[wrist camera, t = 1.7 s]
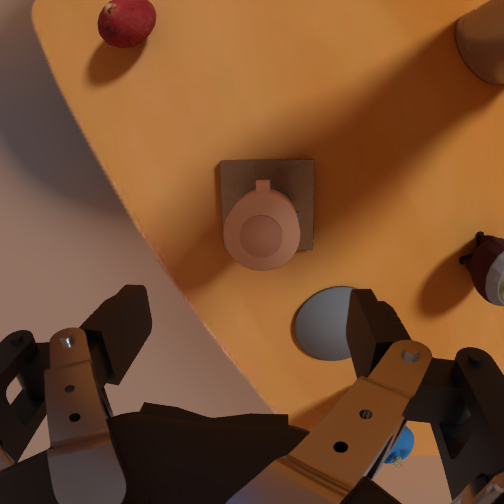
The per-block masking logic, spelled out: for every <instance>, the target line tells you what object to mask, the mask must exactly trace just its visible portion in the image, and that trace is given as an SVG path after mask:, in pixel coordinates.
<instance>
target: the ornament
mask: <svg viewBox="0 0 504 504" xmlns="http://www.w3.org/2000/svg"><path fill="white" fill-rule="evenodd" d="M413 445H414V436H413V433H412V432H411V430H410V429H409V428H408V427H407V426H406V425H405V427H404V429H403V431H402V432H401V434H400V436H399V438H398V439H397V441H396V443H395V445H394V446H393V448H392V450H391V451H390V453H389V455H388V456H387V458H386V459H385V461H384V463H393V464H394V465H395V466H396V465H398V464H400V463H401V462H402V459H404V458H406V457H407V456H408V455H409V454H410V452H411V451H412V449H413ZM397 468H398V467H397Z"/></svg>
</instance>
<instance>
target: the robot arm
mask: <svg viewBox="0 0 504 504" xmlns="http://www.w3.org/2000/svg"><path fill="white" fill-rule="evenodd" d="M455 35H456V42H457V46H458V48H459V51H460V54H461V55H462V57H463V59H464V61H465V62H466V64H467V65H468V66H469V68H470V69H471V70H472V71H473V72H474V73H475V74H476V75H477V76H478V77H480V78H481V79H482V80H484V81H486V82H488V83H491V84H504V0H490V1H488V2H486V3H485V4H483V5H481V6H479V7H477V8H476V9H474V10H472V11H470V12H469V13H467V14H465V15H463V16H462V17H461V18H460V19H459V20H458V22H457V24H456V30H455ZM151 329H152V318H151V313H150V307H149V302H148V296H147V291H146V288H145V287H144V286H143V285H125V286H124V287H123V288H122V289H121V290H120V291H119V292H118V293H117V294H116V295H115V296H113V297H111V298H109V299H107V300H106V301H104V302H103V303H102V304H101V305H100V306H99V308H98V309H96V310H95V311H94V313H93V314H91V315H90V316H89V318H88V319H87V320H86V321H85V322H84V323H83V324H82V325H81V326H80V327H79V328H67V329H63V330H60V331H58V332H57V333H55V334H54V335H53V336H52V337H51V339H50V342H45V343H36V342H35V339H34V337H33V334H32V333H31V332H30V331H27V330H20V331H16V332H13V333H11V334H9V335H8V336H6V337H5V338H4V339H3V340H2V341H1V342H0V504H402V503H400V502H399V501H398V500H396V499H395V498H394V497H393V496H391V495H390V494H389V493H387V492H386V491H385V490H384V489H382V488H381V487H380V486H379V485H377V484H376V483H375V482H374V481H373V480H374V478H375V476H376V475H377V473H378V471H379V470H380V468H381V466H382V465H383V463H384V461H385V459H386V458H387V456H388V455H389V453H390V451H391V450H392V448H393V446H394V445H395V443H396V441H397V439H398V438H399V436H400V434H401V432H402V431H403V429H404V427H405V425H406V423H407V421H408V420H409V421H417V422H426V423H430V424H431V427H432V430H433V433H434V437H435V440H436V443H437V446H438V450H439V453H440V456H441V460H442V463H443V467H444V471H445V474H446V478H447V482H448V486H449V489H450V493H451V498H452V502H451V503H450V504H504V375H503V373H502V372H501V370H500V369H499V367H498V366H497V364H496V363H495V361H494V360H493V358H492V357H491V356H490V355H489V354H488V353H487V352H485V351H483V350H481V349H478V348H473V347H467V348H463V349H461V350H459V351H458V352H457V354H456V357H455V360H446V359H437V358H433V357H432V353H431V351H430V349H429V348H428V347H427V346H425V345H424V344H422V343H420V342H417V341H413V340H411V338H410V336H409V334H408V333H407V331H406V329H405V327H404V326H403V324H402V323H401V320H400V319H399V317H397V314H396V312H395V310H394V309H393V307H391V306H390V305H389V304H387V303H386V302H384V301H378V300H377V299H376V297H375V295H374V293H373V291H372V290H371V289H352V290H351V293H350V300H349V308H348V316H347V323H346V339H347V343H348V347H349V350H350V354H351V358H352V361H353V365H354V369H355V372H356V376H357V380H356V381H355V382H354V384H353V385H352V386H351V387H350V388H349V390H348V391H347V392H346V393H345V394H344V396H343V397H342V398H341V399H340V400H339V401H338V402H337V404H336V405H335V406H334V407H333V408H332V409H331V410H330V412H329V413H328V414H327V415H326V416H325V417H324V418H323V419H322V420H321V421H320V423H319V424H318V425H317V426H316V427H315V428H314V429H313V430H312V431H311V432H310V431H308V430H305V429H302V428H299V427H296V426H291V425H288V414H243V415H236V416H227V417H217V418H210V417H206V416H202V415H199V414H196V413H193V412H190V411H187V410H184V409H181V408H178V407H173V406H165V405H159V404H152V403H146V402H144V404H143V406H142V408H141V410H140V412H131V413H125V414H120V415H117V416H114V415H113V412H112V409H111V406H110V403H109V400H108V397H107V394H106V391H105V388H104V386H105V384H106V383H109V384H114V385H119V384H120V382H121V380H122V379H123V377H124V375H125V374H126V372H127V370H128V369H129V367H130V366H131V364H132V362H133V361H134V359H135V357H136V356H137V354H138V353H139V351H140V349H141V348H142V346H143V345H144V343H145V341H146V340H147V338H148V336H149V335H150V333H151ZM15 377H17V379H18V381H19V383H20V385H21V387H22V390H21V392H20V393H19V394H18V396H17V397H16V398H15V400H14V401H13V402H12V404H11V405H10V404H9V402H8V400H7V398H6V390H7V387H8V386H9V384H10V383H11V382H12V381H13V379H14V378H15ZM46 414H47V420H48V429H49V437H50V448H49V449H47V450H45V451H43V452H41V453H38V454H36V455H34V456H32V457H30V458H28V459H25V460H23V461H21V462H19V463H17V462H18V460H19V459H20V457H21V455H22V454H23V452H24V450H25V449H26V447H27V445H28V444H29V442H30V440H31V439H32V437H33V435H34V434H35V432H36V430H37V429H38V427H39V426H40V424H41V422H42V421H43V419H44V418H45V416H46Z"/></svg>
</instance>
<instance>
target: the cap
mask: <svg viewBox="0 0 504 504" xmlns="http://www.w3.org/2000/svg"><path fill="white" fill-rule="evenodd" d="M223 236H224V242H225V245H226V248H227V250H228V252H229V253H230V255H231V256H232V257H233V258H234V259H235V260H236V261H237V262H238V263H239V264H241V265H243V266H244V267H247V268H249V269H252V270H258V271H267V270H272V269H276V268H278V267H280V266H282V265H284V264H285V263H286V262H288V261H289V260H290V259H291V258H292V257H293V255H294V254H295V252H296V250H297V248H298V245H299V241H300V228H299V223H298V218H297V213H296V210H295V208H294V206H293V204H292V202H291V201H290V200H289V199H288V198H287V197H286V196H285V195H284V194H282V193H280V192H278V191H276V190H273V189H270V180H257V181H256V190H253V191H250V192H248V193H247V194H245V195H244V196H243V197H241V198H240V200H239V201H238V202H237V203H236V205H235V206H234V208H233V209H232V211H231V212H230V214H229V215H228V217H227V219H226V221H225V225H224V231H223Z"/></svg>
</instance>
